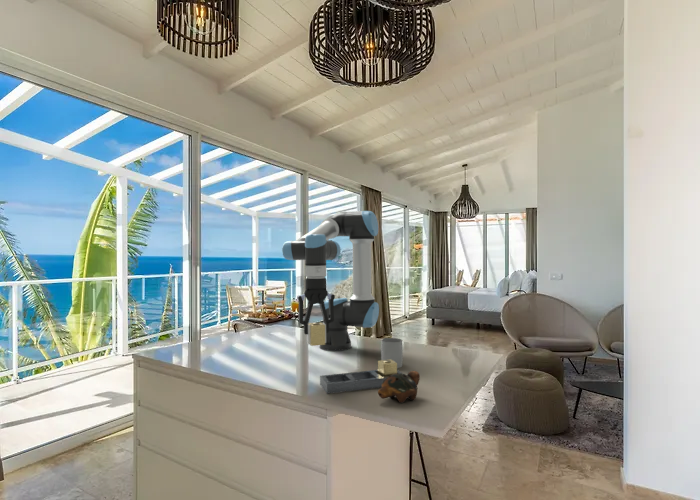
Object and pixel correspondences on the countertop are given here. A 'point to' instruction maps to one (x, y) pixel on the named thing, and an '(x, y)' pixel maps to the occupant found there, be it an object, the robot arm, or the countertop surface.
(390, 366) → the beige framed knobbed block
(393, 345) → the cup
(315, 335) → the cube with silver knob
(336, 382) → the rack
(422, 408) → the countertop surface
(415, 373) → the decorative turtle
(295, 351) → the countertop surface
